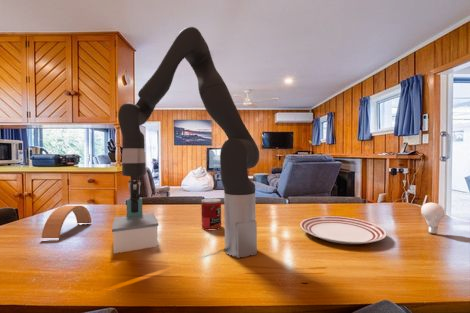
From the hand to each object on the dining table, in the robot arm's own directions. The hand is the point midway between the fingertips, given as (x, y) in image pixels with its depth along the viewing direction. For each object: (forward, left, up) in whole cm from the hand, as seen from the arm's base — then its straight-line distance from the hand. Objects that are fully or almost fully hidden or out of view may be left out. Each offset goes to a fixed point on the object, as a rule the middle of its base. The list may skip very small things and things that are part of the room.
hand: (134, 210), depth 81 cm
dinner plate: (-29, -66, -10) cm, 73 cm away
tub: (-6, 0, -9) cm, 11 cm away
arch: (+19, +22, -10) cm, 31 cm away
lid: (-7, 0, -4) cm, 7 cm away
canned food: (0, -28, -10) cm, 30 cm away
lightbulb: (-43, -95, -10) cm, 105 cm away
